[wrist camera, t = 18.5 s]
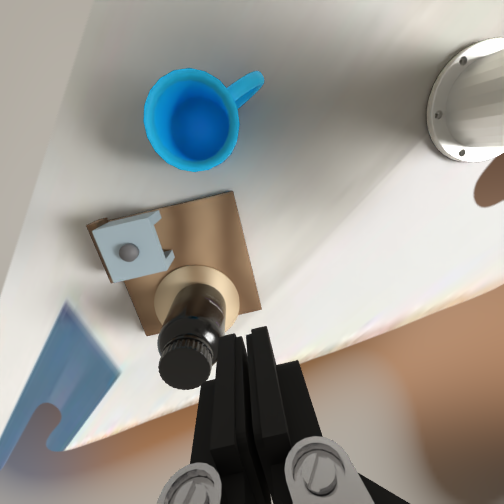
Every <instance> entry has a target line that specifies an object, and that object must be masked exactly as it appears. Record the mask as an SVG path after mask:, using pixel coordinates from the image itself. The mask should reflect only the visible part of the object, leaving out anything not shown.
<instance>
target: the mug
mask: <svg viewBox="0 0 504 504" xmlns="http://www.w3.org/2000/svg"><path fill="white" fill-rule="evenodd" d="M263 84H264V77H263V75H262V74H261V72H259V71H253V72H251V73H249V74H247V75H245V76H243V77H242V78H240V79H239V80H237V81H236V82H234V83H233V84H231V85H230V86H229V87H227V88H226V87H225V86H224V85H223V83H222V82H221V81H220V80H219V79H217V78H216V77H214V76H212V75H211V74H209V73H207V72H206V71H201V70H197V69H192V68H186V69H179V70H173V71H172V72H170V73H168V74H166V75H165V76H163V77H161V78H160V79H159V80H158V81H157V82H156V84H155V85H154V86H153V87H152V88H151V90H150V92H149V94H148V97H147V100H146V102H145V105H144V126H145V130H146V134H147V138H148V140H149V141H150V143H151V145H152V147H153V148H154V150H155V152H156V153H157V154H158V155H159V156H160V157H161V158H162V159H164V160H165V161H166V162H167V163H168V164H170V165H172V166H174V167H176V168H178V169H180V170H186V171H192V172H198V171H204V170H209V169H211V168H213V167H215V166H217V165H219V164H221V163H222V162H224V161H225V160H226V159H227V158H228V157H229V156H230V155H231V154H232V151H233V149H234V147H235V145H236V143H237V139H238V132H239V125H240V123H239V116H238V108H240V107H241V106H242V105H243V104H244V103H246V102H247V101H248V100H249V99H250V98H251V97H252V96H253V95H254V94H255V93H256V92H257V91H258V90H259V89H260V88H261V87H262V85H263Z"/></svg>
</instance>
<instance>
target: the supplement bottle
mask: <svg viewBox="0 0 504 504" xmlns="http://www.w3.org/2000/svg"><path fill="white" fill-rule="evenodd" d="M225 320H226V303H225V300H224V297H223V296H222V294H221V293H220V292H219V291H218V290H217V289H216V288H214V287H212V286H210V285H207V284H202V283H196V284H191V285H188V286H186V287H184V288H183V289H182V290H180V291H179V292H178V294H177V295H176V297H175V299H174V301H173V303H172V305H171V307H170V310H169V312H168V314H167V317H166V319H165V321H164V323H163V326H162V328H161V330H160V333H159V336H158V341H157V346H158V351H159V354H160V356H161V358H160V361H159V366H158V368H159V373H160V376H161V377H162V380H164V381H165V383H167V384H168V385H169V386H172V387H173V388H177V389H182V390H186V389H187V390H189V389H194V388H197V387H199V386H201V385H202V383H203V382H205V381H206V380H207V379H208V378H209V375H210V373H211V368H212V366H213V365H214V364H215V363H216V362H217V353H218V341H219V337H221V336H225Z"/></svg>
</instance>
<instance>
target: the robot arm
mask: <svg viewBox="0 0 504 504" xmlns="http://www.w3.org/2000/svg"><path fill="white" fill-rule="evenodd" d="M427 125H428V131H429V134H430V137H431V139H432V141H433V143H434V144H435V146H436V147H437V149H438V150H439V151H440V152H441V153H442V154H444V155H445V156H447V157H449V158H450V159H453V160H456V161H460V162H481V161H485V160H489V159H491V158H494V157H496V156H498V155H500V154H501V153H503V152H504V37H496V38H489V39H486V40H483V41H480V42H477V43H475V44H473V45H471V46H469V47H467V48H465V49H464V50H463V51H461V52H460V53H458V54H457V55H456V56H455V57H454V58H453V59H452V60H451V61H450V62H449V63H448V64H447V65H446V66H445V67H444V69H443V70H442V71H441V73H440V74H439V76H438V78H437V80H436V82H435V83H434V85H433V88H432V91H431V94H430V96H429V101H428V106H427ZM251 332H252V334H249V335H246V341H247V352H246V349H245V345H244V342H243V338H242V336H240V337H236V335H235V333H234V334H230V335H225V336H221V337H219V341H218V353H217V366H216V378H215V379H214V380H210V381H205V382H203V383H202V385H201V390H200V397H199V404H198V411H197V418H196V425H195V432H194V439H193V446H192V454H191V461H190V464H189V465H187V466H185V467H183V468H182V469H180V470H179V471H178V472H176V473H175V474H174V475H173V476H172V477H171V478H170V479H169V481H168V482H167V483H166V485H165V486H164V488H163V490H162V492H161V494H160V496H159V499H158V501H157V504H271V497H272V500H273V504H410V503H408V502H406V501H405V500H403V499H401V498H399V497H398V496H396V495H395V494H393V493H391V492H389V491H388V490H386V489H384V488H383V487H381V486H379V485H378V484H376V483H374V482H373V481H371V480H369V479H368V478H366V477H364V476H363V475H361V474H359V473H357V471H356V469H355V467H354V465H353V463H352V462H351V460H350V458H349V456H348V455H347V453H346V452H345V451H344V449H343V448H342V447H341V446H340V445H338V444H337V443H336V442H334V441H333V440H330V439H328V438H325V437H323V436H322V433H321V430H320V427H319V424H318V421H317V418H316V414H315V411H314V408H313V405H312V402H311V399H310V396H309V392H308V389H307V386H306V383H305V380H304V377H303V374H302V371H301V367H300V364H299V361H298V360H296V361H292V362H288V363H283V364H279V365H276V362H275V358H274V354H273V350H272V346H271V342H270V337H269V333H268V329H267V326H264V327H260V328H256V329H251ZM247 355H248V356H247ZM270 494H271V496H270Z"/></svg>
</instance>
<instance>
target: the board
mask: <svg viewBox="0 0 504 504" xmlns="http://www.w3.org/2000/svg"><path fill="white" fill-rule="evenodd" d="M157 210H159V212H160V215H161V219H160V220H159V221H158V222H157V223H156V224H154V227H155V230H156V233H157V235H158V238H159V241H160V244H161V247H162V250H163V252H165V251H169V250H173V253H174V256H175V258H174V260H173V261H172V263H171V265H170V266H169V268H168V270H167V271H163V272H159V273H154V274H150V275H146V276H142V277H137V278H133V279H129V280H125V281H124V283H125V285H126V288H127V290H128V292H129V295H130V297H131V300H132V302H133V305H134V307H135V309H136V312H137V314H138V317H139V319H140V322H141V324H142V327H143V329H144V331H145V334H146V336H150V335H154V334H159V333H160V330H161V328H162V326H163V323H164V321H165V319H166V317H167V314H168V312H169V310H170V307H171V305H172V303H173V301H174V299H175V297H176V295H177V294H178V292H179V291H180V290H182V289H183V288H184V287H186V286H188V285H191V284H196V283H202V284H207V285H210V286H212V287H214V288H216V289H217V290H218V291H219V292H220V293H221V294H222V296H223V297H224V300H225V303H226V320H225V332H226V331H227V330H228V329H229V328H231V326H232V325H233V324H234V322H235V320H236V318H237V316H238V315H240V314H245V313H249V312H253V311H257V310H262V308H261V304H260V299H259V295H258V291H257V287H256V283H255V279H254V275H253V271H252V267H251V263H250V259H249V255H248V251H247V246H246V242H245V238H244V234H243V230H242V226H241V222H240V218H239V214H238V210H237V206H236V202H235V198H234V193H233V191H230V192H226V193H222V194H218V195H213V196H209V197H205V198H201V199H197V200H192V201H188V202H184V203H180V204H176V205H171V206H167V207H163V208H159V209H155V210H151V211H146V212H142V213H138V214H134V215H130V216H125V217H121V218H117V219H113V220H109V221H108V219H107V218H103V219H99V220H97V221H94V222H92V223H90V224H88V225H86V226H87V229H88V231H89V233H90V236H91V238H92V240H93V243H94V245H95V247H96V250H97V252H98V254H99V257H100V259H101V261H102V264H103V266H104V268H105V271H106V273H107V275H108V278H109V280H110V282H111V283H113V280H112V278H111V275H110V273H109V271H108V268H107V266H106V264H105V261H104V259H103V257H102V254H101V252H100V250H99V247H98V245H97V242H96V240H95V238H94V235H93V233H92V231H93V230H94V229H96V228H98V227H100V226H102V225H104V224H106V223H108V222H111V221H115V220H119V219H123V218H127V217H132V216H136V215H140V214H144V213H148V212H152V211H157Z"/></svg>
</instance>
